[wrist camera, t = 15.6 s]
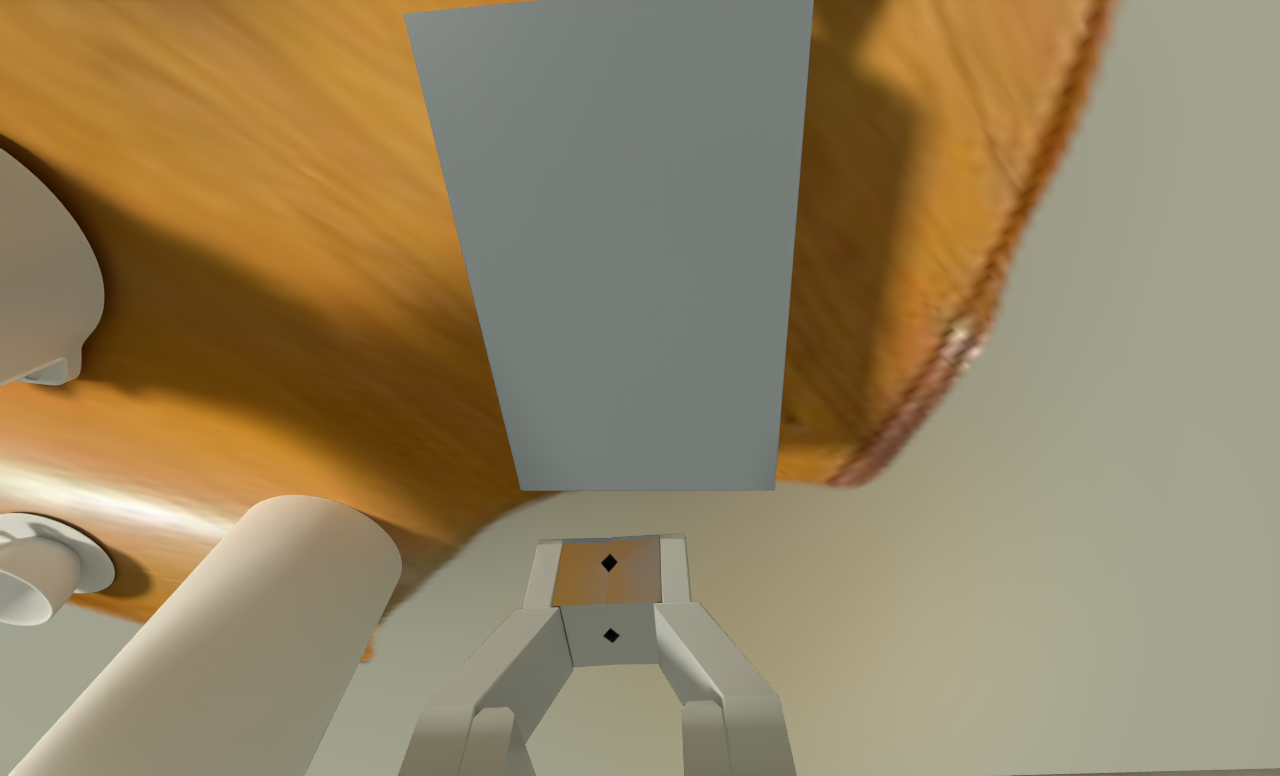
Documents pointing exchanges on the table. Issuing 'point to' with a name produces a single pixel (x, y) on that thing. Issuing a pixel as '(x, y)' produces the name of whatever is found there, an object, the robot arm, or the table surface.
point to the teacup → (45, 567)
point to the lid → (626, 227)
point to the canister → (237, 654)
